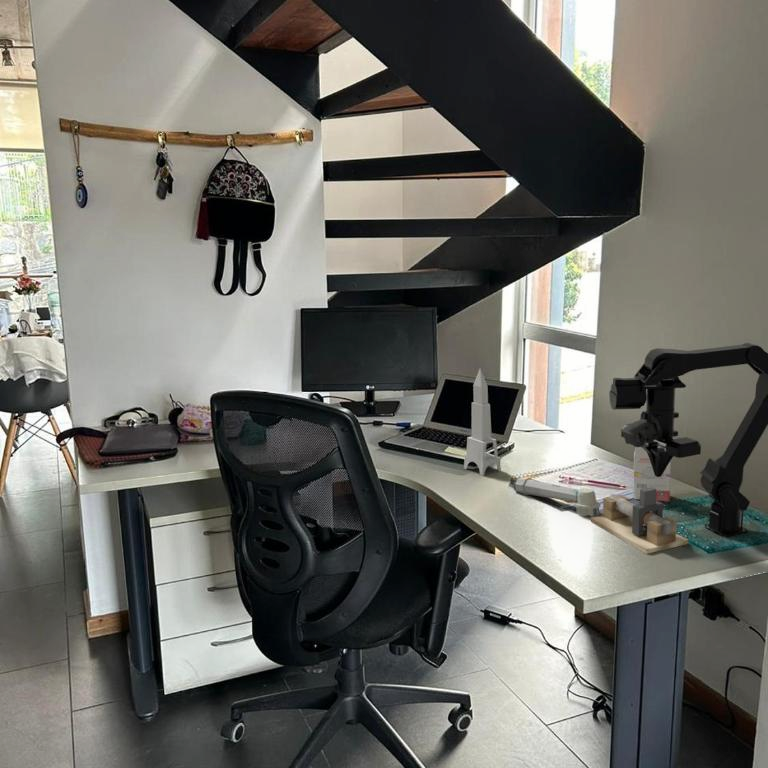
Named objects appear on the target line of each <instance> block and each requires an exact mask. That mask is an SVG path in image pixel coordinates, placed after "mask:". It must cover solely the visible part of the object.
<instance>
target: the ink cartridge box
mask: <svg viewBox="0 0 768 768" xmlns="http://www.w3.org/2000/svg"><path fill="white" fill-rule="evenodd" d="M651 487H653V488H655V489H657V491H656V501H659V502H666V503H669V502H670V499H671V498H670V494H671V493H670V492H671V461H670V462H669V464H668V466H667V467H666V469H665V471H664V473H663V474H662V476H661V477H656V476H655V474H654V471H653V468H652V465H651V462H650V459H649V456H648V454H647V452H646V451H645V450H644V449H643V448H642V447H634V454H633V499H634V500H640V490H641V489H646V488H651Z"/></svg>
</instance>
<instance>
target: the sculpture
mask: <svg viewBox="0 0 768 768" xmlns="http://www.w3.org/2000/svg"><path fill="white" fill-rule="evenodd" d="M472 387H473V389H472V391H473V392H472V393H473V402H471V436H467V439H466V454H464V462H463V469H465V470H467V468H468V465H469V463H471V462H472V463H475V464H476V466H477V467H478V469H479V476H483V477H485V474H486V470H487V468H488V467H489V466H491V465H495V466H496V467H497V470H498V471H499V472H501V471H502V469H501V468H502V467H501V457H499V455H498V443H497V439H495V438H492V422H491V419H492V417H491V404H490V403H489V393H488V392H489V391H488V383H487V381H486V379H485V376H484V373H483V372H482V369H481V368H479V369H478V372H477V375H476V377H475V380H474V382H473V385H472ZM488 444H492V446H493V453H494V454H491V453H489V452H487V445H488Z"/></svg>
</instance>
